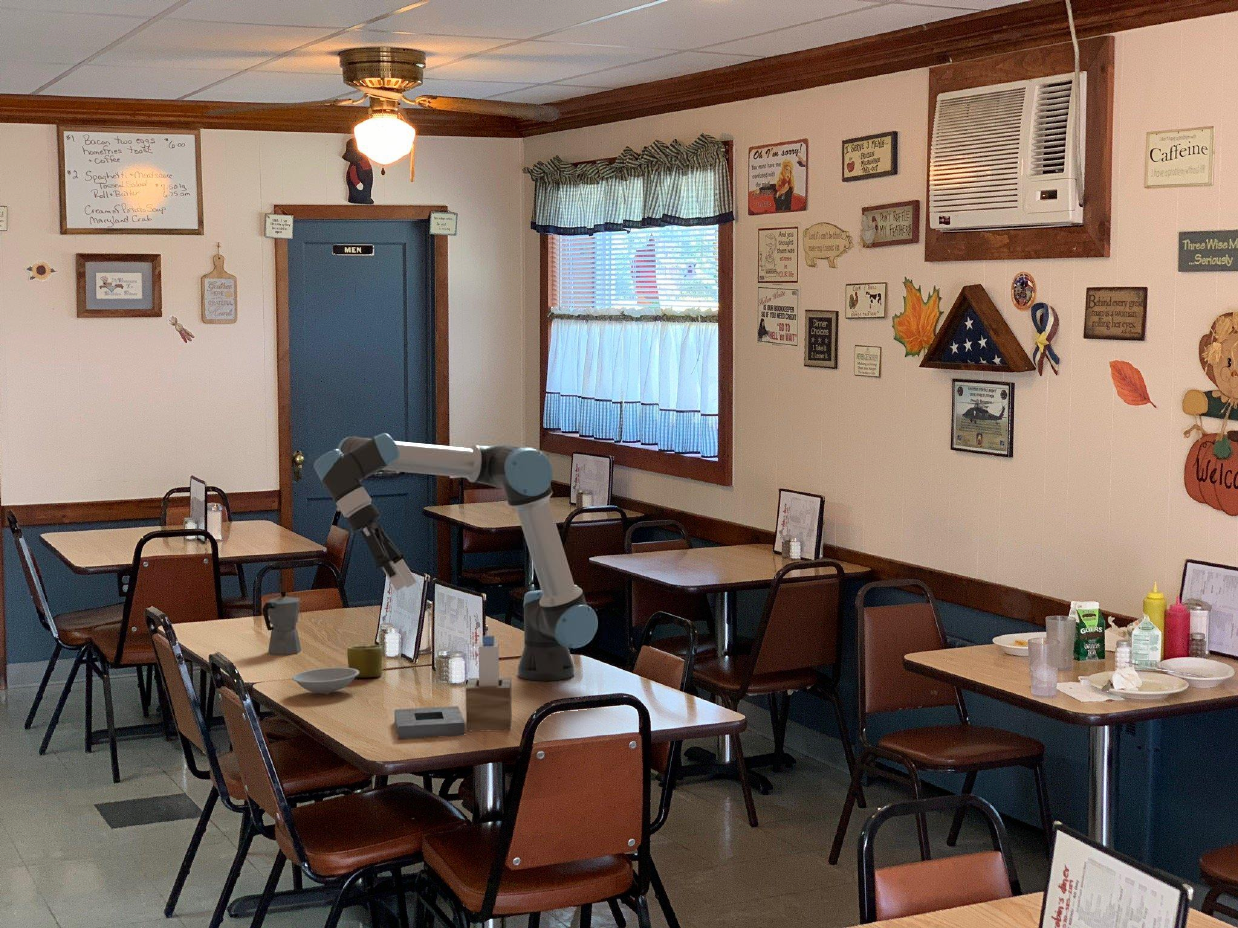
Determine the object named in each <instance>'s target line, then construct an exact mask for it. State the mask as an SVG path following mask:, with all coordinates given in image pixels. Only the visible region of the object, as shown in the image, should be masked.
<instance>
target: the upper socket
mask: <svg viewBox="0 0 1238 928" xmlns="http://www.w3.org/2000/svg"><path fill="white" fill-rule="evenodd" d="M512 700H513V699H512V677H499V686H479V677H469V678H468V681H467V684H466V688H465V705H466V706H465V709H466V711H465V712H466V713H465V716H466V717H465V718H466V722H465V727H466V728H465V732H471V731H470V730H510V731H511V728H510V727H511V726H512V721H511V720H512V719H513V718H512V717H513V716H512V715H513V714H512V713H513V711H512V710H513V709H512V707H513V705H512Z"/></svg>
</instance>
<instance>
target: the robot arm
mask: <svg viewBox="0 0 1238 928" xmlns="http://www.w3.org/2000/svg"><path fill="white" fill-rule="evenodd" d="M313 469H314V470H315V472H316V474H317V476H318V477H319V480H320V482H322V484H323V485H324V487H325V489H326V490H327V492H328V493H329V495H330V496H331V498H332V500H333V501H334V503H335V504H336V506H337V507H336V510H337V512H340V513H341V514H342V515H343V517H344V518H346V522H347V524H348V526H349V527H350V529H351V531H352V532H354V533H357V532H359V531H360V534H361V536H362V537H363V539H364V540H365V542H366V544H367V548H368V549H369V551H370V552H371V555H372V556H373V559H374V561H375V564H376V568H377V569H378V570H379V569H380V568H381V569H382V570H383V572H384V573H385V575H386V577H387V579H388V580H389V581H390V584H391V585H392V586H393V588H394V589H395V591H396V592H398V591H400V590H401V589H403V588H406V589H409V588H410V587H411V586H413V585H415V584H416V583H417V582H418V581H417V580H416V578H415V576H414V575H413V573H412V572H411V570H410V568H409V566H408V565H407V563H406V562H405V561H404V559H405V558H406V556H405V554H404V553H401V552H400V551H399V549H398V548H397V546H396V545H395V544H394V543H393V541H392V540H391V538H390V537H389V536H388V535H387V533H386V532H385V531H384V529H383V527H382V525H380V524H378V525H377V523H376V521H378V520H379V519H381V512H380V511H379V509H378V508H377V507H376V504H374V503H372V498H371V496H370V495H369V493H368V492H367V491H366V489H365V487H364V485H362V483H361V481H364V480H365V479H368V477H370V476H372V475H374V474H375V473H378V472H379V471H381V470H382V471H393V472H400V473H401V472H405V473H412V474H414V473H415V474H422V475H435V476H444V477H455V478H456V477H457V478H465V479H467V480H468V481H469V482H470V483H478V484H483V485H488V486H491V487H494V488H498V489H501V490H503V491H504V494H505V497H506V500H507V504H508V506H509V507H510V508H511V509H512V508H513V509H514V510H516V513H517V515H518V519H519V522H520V525H521V529H522V532H523V534H524V539H525V541H526V546H527V547H528V551H529V554H530V558H531V560H532V564H533V567H534V570H535V574H536V577H537V580H538V583H539V587H540V589H539V590H537V589H536V590H531V591H527V592H526V593H525V594H524V597H523V604H522V607H523V637H524V638H523V639H524V640H523V641H524V642H523V643H524V645H523V646H524V647H523V650H522V653H521V656H520V659H519V663H518V666H517V675H518V677H519V678H522V679H523V680H529V681H540V682H542V681H543V682H545V681H560V680H565V679H569V678H572V677H573V676H575V665H574V661H573V658H572V655H571V652H570V649H578V648H582V647H585V646H586V645H587V644H589V643H590V642H591V641H593V639H594V637H595V635H596V633H597V630H598V626H599V625H598V624H599V622H598V616H597V613H596V612H595V610H594V609H593V608H592V607H591V606H590V605H587V602H586V601H587V600H586V597H585V595H584V591H583V589H582V588H581V587H578V585H575V583H574V580H573V575H572V572H571V570H570V566H569V563H568V560H567V555H566V553H565V549H564V546H563V542H562V540H561V536H560V533H559V529H558V527H557V523H556V519H555V517H554V513H553V510H552V506H551V503H550V498H551V496H552V494H553V493H554V492H553V489H552V485H551V483H552V480H553V478H554V471H553V470H554V469H553V466H552V463H551V461H550V460H549V458H548V457H547V455H545V454H544V453H543V452H542V451H540V450H537V449H536V448H533V447H530V446H517V445H510V444H502V445H501V444H499V445H477V444H474V445H471V446H470V447H469V448H467V447H459V446H449V445H439V444H429V443H418V442H407V441H398V440H394V439H393V437H392V436H391V435H390V434H389V433H386V432H383V433H380V434H378V435H374V437H372V438H367V437H360V436H354V435H352V436H348V437H345V438H343V439H342V440H341V441H340V442H339V444H338V445H337V448H334V449H332V450H330V451H327V452H326V453H324V454H322V455H321V456H320V457H318V458H317V459H316V460H315V461H314V463H313ZM569 648H570V649H569Z"/></svg>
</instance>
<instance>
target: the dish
mask: <svg viewBox="0 0 1238 928" xmlns="http://www.w3.org/2000/svg"><path fill="white" fill-rule="evenodd" d="M357 675H359V671H358V670H356V669H352V668H349V667H322V668H314V669H309V670H304V671H302V672H298V673H296V674H295V673H294V674H293V675H292V676H291V680H292V681H294V682H296V683H297V684H298V685H299V686H300V687H301V688H303V689H304V690H306V691H308V692H312V693H322V695H329V694H331V692H335V691H339V690H341V689H344V688H345V687H348V685H349V684H351V683H352V681H353V680H355V679H356V678H355V677H356V676H357Z"/></svg>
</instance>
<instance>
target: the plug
mask: <svg viewBox="0 0 1238 928" xmlns="http://www.w3.org/2000/svg"><path fill="white" fill-rule="evenodd" d="M499 644H500V643H499V642H495V635H491V634H489V635H486V634H485V635H483V636H482V642H479V644H478V678H479V686H499V678H500V664H499V661H500V655H499V653H500V652H499V651H500V649H499Z"/></svg>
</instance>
